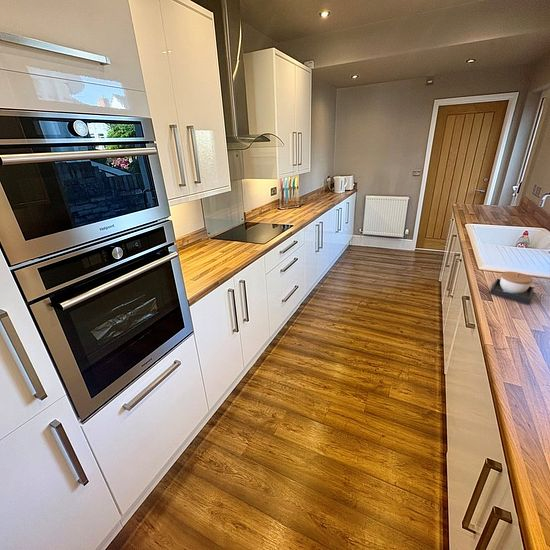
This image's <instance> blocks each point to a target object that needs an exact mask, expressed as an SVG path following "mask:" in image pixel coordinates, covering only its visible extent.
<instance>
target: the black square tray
mask: <svg viewBox="0 0 550 550" xmlns="http://www.w3.org/2000/svg"><path fill="white" fill-rule="evenodd" d="M500 279H501V278H496V280H495V281H494V283H493V284H492V287H491V289H490V290H489V294H490V295H493V296H496V297H501V298H504V299H508V300H511V301H515V302H519V303H523V304H526V305H529V303H530V301H531V298H532V295H533V292H534V290H535V287H534V286H531V285H530V286H529V288H528V289H527V290H526V291H525V292H524V293H521V294H519V295H515V294H511V293H507V292H504V291H503V289H502V288H501V286H500Z"/></svg>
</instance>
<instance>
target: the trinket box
mask: <svg viewBox="0 0 550 550" xmlns="http://www.w3.org/2000/svg"><path fill="white" fill-rule="evenodd" d="M499 279H500V286H501V288H502V289H503V291H504V292H507V293H511V294H515V295H519V294H521V293H524V292H525V291H526V290H527V289H528V288H529V286H530V287H531V285H532V283H533V278H532V277H531V276H529V275H527V274H525V273H521V272H519V271H503V272H502V273H501V275H500V278H499Z"/></svg>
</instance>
